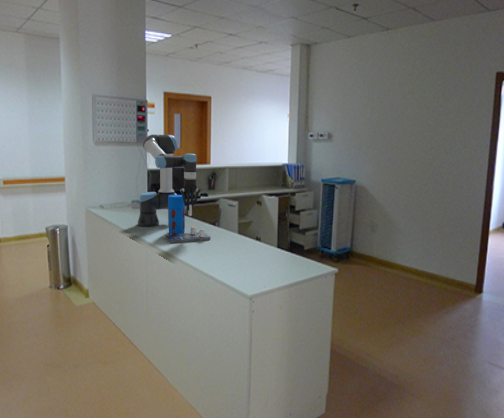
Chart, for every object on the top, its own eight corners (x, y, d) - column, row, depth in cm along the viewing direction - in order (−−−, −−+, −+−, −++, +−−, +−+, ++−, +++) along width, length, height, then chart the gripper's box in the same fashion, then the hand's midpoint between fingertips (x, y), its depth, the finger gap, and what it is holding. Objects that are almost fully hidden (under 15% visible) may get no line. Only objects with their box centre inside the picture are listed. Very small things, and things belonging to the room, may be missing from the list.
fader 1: (190, 233, 260) (190, 226, 260) (194, 232, 261) (194, 226, 261) (192, 234, 257) (192, 227, 257) (195, 234, 258) (195, 227, 258)
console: (164, 238, 255) (164, 234, 255) (203, 234, 266) (203, 231, 266) (169, 243, 242) (169, 240, 242) (210, 240, 253) (210, 237, 253)
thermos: (181, 235, 264) (180, 197, 260) (165, 233, 267) (165, 196, 262) (187, 231, 275) (186, 195, 271) (172, 230, 277) (171, 194, 273)
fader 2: (199, 235, 254) (199, 229, 253) (202, 235, 255) (202, 228, 254) (200, 237, 251) (200, 230, 250) (204, 236, 252) (204, 230, 251)
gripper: (181, 179, 246) (181, 217, 251) (201, 179, 252) (201, 215, 256) (178, 178, 253) (178, 214, 257) (198, 177, 258) (198, 213, 263)
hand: (190, 215), depth 257 cm, fingers closed
